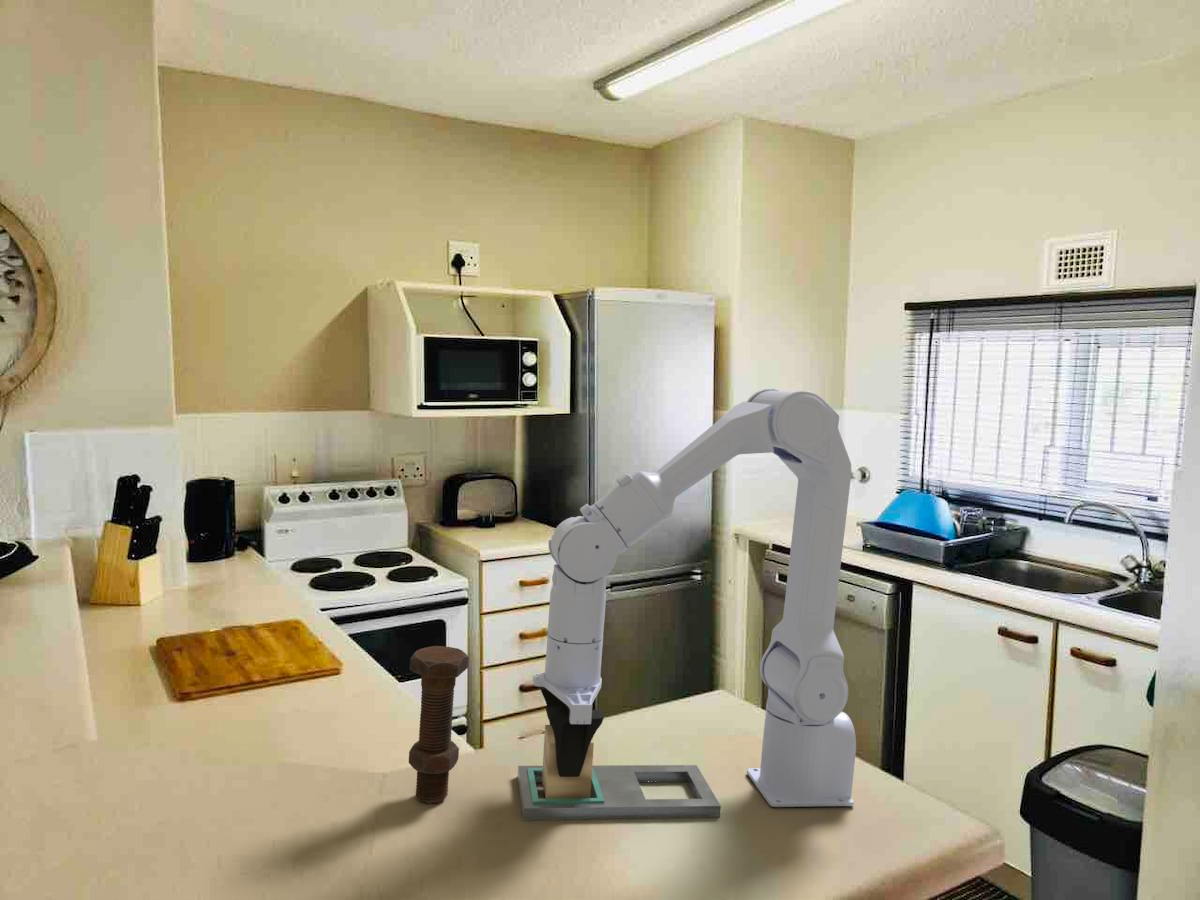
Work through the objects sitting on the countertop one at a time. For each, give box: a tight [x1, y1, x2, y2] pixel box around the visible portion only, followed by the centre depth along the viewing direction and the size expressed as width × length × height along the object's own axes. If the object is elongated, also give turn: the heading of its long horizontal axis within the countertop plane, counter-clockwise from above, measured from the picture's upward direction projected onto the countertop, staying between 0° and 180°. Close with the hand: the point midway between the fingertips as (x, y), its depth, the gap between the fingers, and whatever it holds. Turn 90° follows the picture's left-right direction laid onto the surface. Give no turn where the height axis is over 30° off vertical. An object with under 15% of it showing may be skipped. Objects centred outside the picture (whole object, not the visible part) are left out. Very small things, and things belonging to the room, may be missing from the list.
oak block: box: [542, 724, 595, 798], centre depth 87 cm, size 4×4×6 cm
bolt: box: [408, 645, 470, 804], centre depth 85 cm, size 6×5×15 cm
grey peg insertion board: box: [517, 764, 722, 821], centre depth 88 cm, size 20×9×1 cm, turn 99°
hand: (565, 763), depth 87 cm, fingers closed on oak block, 4 cm apart
